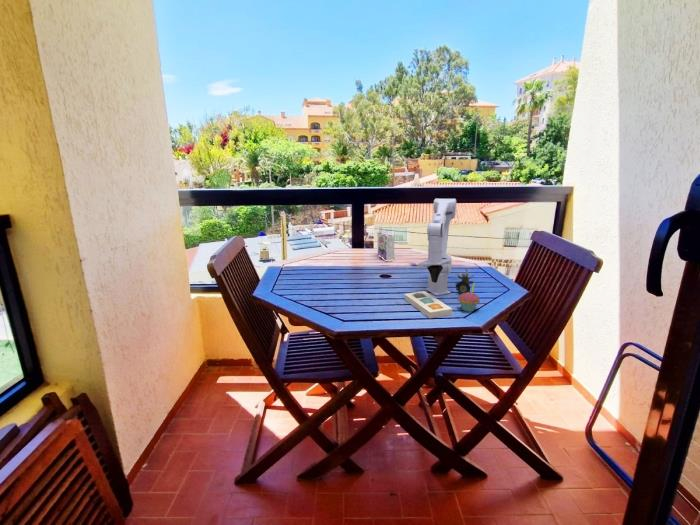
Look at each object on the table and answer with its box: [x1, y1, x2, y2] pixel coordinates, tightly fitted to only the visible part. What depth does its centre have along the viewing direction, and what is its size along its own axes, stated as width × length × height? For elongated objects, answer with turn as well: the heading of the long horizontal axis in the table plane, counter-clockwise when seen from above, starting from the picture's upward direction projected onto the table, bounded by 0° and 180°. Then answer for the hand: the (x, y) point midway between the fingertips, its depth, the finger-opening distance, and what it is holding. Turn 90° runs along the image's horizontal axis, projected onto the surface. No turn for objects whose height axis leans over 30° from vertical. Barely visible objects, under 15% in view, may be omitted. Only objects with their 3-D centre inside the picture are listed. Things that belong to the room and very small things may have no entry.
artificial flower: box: [455, 269, 475, 296], centre depth 186 cm, size 9×22×10 cm, turn 155°
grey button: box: [414, 293, 424, 298], centre depth 172 cm, size 4×4×3 cm
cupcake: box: [457, 281, 480, 312], centre depth 160 cm, size 9×8×12 cm
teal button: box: [422, 298, 432, 304], centre depth 165 cm, size 4×4×3 cm
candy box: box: [377, 230, 395, 260], centre depth 242 cm, size 14×6×16 cm, turn 17°
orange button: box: [430, 304, 441, 310], centre depth 159 cm, size 4×4×3 cm
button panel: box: [403, 290, 453, 319], centre depth 165 cm, size 23×10×2 cm, turn 18°
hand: (434, 281), depth 167 cm, fingers closed
